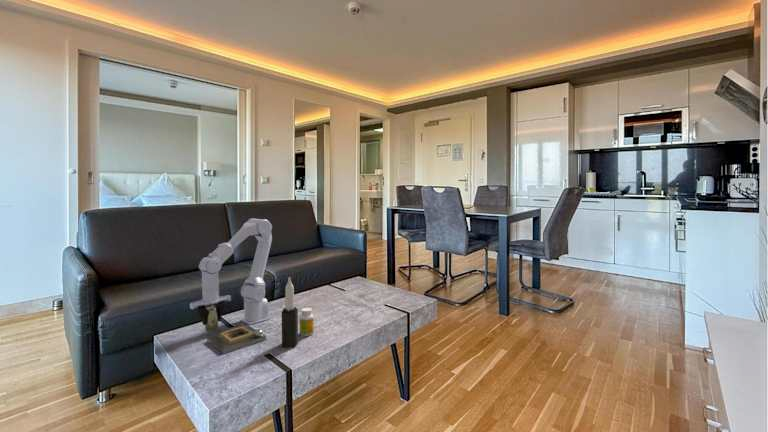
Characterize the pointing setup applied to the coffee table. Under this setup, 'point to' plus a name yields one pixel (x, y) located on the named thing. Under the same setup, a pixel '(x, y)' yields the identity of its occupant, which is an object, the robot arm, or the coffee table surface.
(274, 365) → the coffee table surface
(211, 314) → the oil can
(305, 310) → the supplement bottle
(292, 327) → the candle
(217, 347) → the square peg board
